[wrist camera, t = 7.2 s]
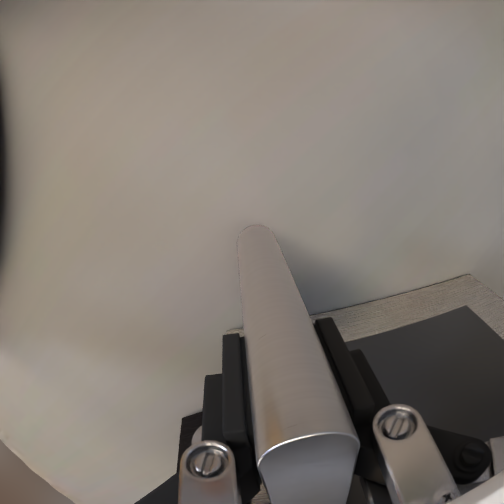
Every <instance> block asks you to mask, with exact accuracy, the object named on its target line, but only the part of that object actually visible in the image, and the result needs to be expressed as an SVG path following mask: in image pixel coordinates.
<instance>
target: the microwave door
mask: <svg viewBox="0 0 504 504" xmlns="http://www.w3.org/2000/svg"><path fill="white" fill-rule="evenodd" d="M237 251H238V263H239V276H240V289H241V301H242V313H243V325H244V328H241V329H235V330H228V331H227V332H226V335H227V334H234V333H239V334H240V337H243V336H245V348H246V359H247V370H248V381H249V392H250V403H251V413H252V423H253V434H254V444H255V453H256V463H257V469H258V471H259V474H260V476H261V479H262V485H260V489H261V491H260V492H259V493H258V494H257V495H256V496H255V497H254V498H253V499H252V500H253V504H367V503H366V500H365V496H364V493H363V490H362V486H361V483H360V480H359V476H358V475H355V474H354V470H355V466H356V461H357V457H358V452H359V449H360V441H359V438H358V435H357V433H356V430H355V428H354V425H353V422H352V420H351V417H350V415H349V412H348V410H347V407H346V405H345V402H344V399H343V397H342V394H341V392H340V389H339V387H338V384H337V382H336V379H335V377H334V374H333V372H332V370H331V367H330V365H329V362H328V360H327V357H326V355H325V352H324V350H323V348H322V345H321V343H320V340H319V338H318V335H317V333H316V331H315V328H314V326H313V324H315V320H317V319H322V318H327V317H332V319H333V320H334V322H335V324H336V326H337V328H338V330H339V332H340V334H341V336H342V338H343V340H344V342H345V344H346V346H347V348H348V350H349V351H352V350H356V349H360V350H361V351H362V352H363V354H364V355H365V357H366V359H367V361H368V363H369V365H370V366H371V368H372V370H373V372H374V374H375V376H376V378H377V379H378V381H379V383H380V385H381V387H382V389H383V391H384V393H385V394H386V396H387V398H388V400H389V402H390V404H391V405H393V404H405V405H408V406H411V407H412V408H414V409H415V410H417V411H418V413H419V414H420V415H421V417H422V419H423V420H424V422H425V424H426V425H428V426H431V427H435V428H438V429H442V430H446V431H450V432H454V433H458V434H462V435H466V436H470V437H474V438H478V439H480V440H482V441H484V442H488V441H489V439H491V438H497V437H502V436H504V300H503V299H502V298H500V297H499V296H498V295H496V294H495V293H494V292H493V291H491V290H490V289H489V288H487V287H486V286H485V285H483V284H482V283H481V282H479V281H478V280H477V279H475V278H474V277H473V276H471V275H470V274H469V275H465V276H462V277H459V278H456V279H452V280H449V281H446V282H443V283H439V284H436V285H432V286H429V287H425V288H422V289H418V290H415V291H411V292H407V293H404V294H400V295H396V296H392V297H388V298H384V299H380V300H376V301H372V302H368V303H364V304H360V305H356V306H352V307H347V308H343V309H338V310H334V311H329V312H325V313H320V314H315V315H311V316H309V314H308V312H307V309H306V307H305V304H304V302H303V300H302V297H301V295H300V293H299V290H298V288H297V286H296V283H295V281H294V279H293V276H292V274H291V272H290V270H289V267H288V265H287V263H286V260H285V258H284V256H283V253H282V251H281V249H280V247H279V244H278V242H277V240H276V238H275V235H274V234H273V232H272V231H271V230H270V229H269V228H267V227H265V226H262V225H252V226H249V227H247V228H245V229H244V230H243V231H242V232H241V233H240V235H239V237H238V240H237Z"/></svg>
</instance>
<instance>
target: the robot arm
mask: <svg viewBox="0 0 504 504" xmlns="http://www.w3.org/2000/svg"><path fill="white" fill-rule="evenodd" d="M313 326H314V328H315V331H316V333H317V335H318V338H319V340H320V343H321V345H322V348H323V350H324V352H325V355H326V357H327V360H328V362H329V365H330V367H331V370H332V372H333V374H334V377H335V379H336V382H337V384H338V387H339V389H340V392H341V394H342V397H343V399H344V402H345V405H346V407H347V410H348V412H349V415H350V417H351V420H352V422H353V425H354V428H355V430H356V433H357V435H358V438H359V441H360V449H359V452H358V457H357V461H356V466H355V470H354V474H355V475H358V476H359V480H360V483H361V486H362V490H363V493H364V496H365V500H366V503H367V504H504V436H502V437H497V438H491V439H489V441H488V442H484V441H482V440H480V439H478V438H474V437H470V436H466V435H462V434H458V433H454V432H450V431H446V430H442V429H438V428H435V427H431V426H428V425H426V424H425V422H424V420H423V419H422V417H421V415H420V414H419V413H418V411H417V410H415V409H414V408H412V407H411V406H408V405H405V404H393V405H391V404H390V402H389V400H388V398H387V396H386V394H385V393H384V391H383V389H382V387H381V385H380V383H379V381H378V379H377V378H376V376H375V374H374V372H373V370H372V368H371V366H370V365H369V363H368V361H367V359H366V357H365V355H364V354H363V352H362V351H361V350H360V349H356V350H352V351H349V350H348V348H347V346H346V344H345V342H344V340H343V338H342V336H341V334H340V332H339V330H338V328H337V326H336V324H335V322H334V320H333V319H332V317H327V318H322V319H317V320H315V324H313ZM260 485H262V479H261V476H260V474H259V471H258V469H257V463H256V453H255V444H254V434H253V423H252V413H251V403H250V392H249V381H248V370H247V359H246V348H245V336H243V337H240V334H239V333H234V334H227V335H223V352H222V374H215V375H206V377H205V384H204V400H203V417H202V437H201V441H200V442H197V443H195V444H193V445H191V446H190V447H189V448H188V449H186V450H185V452H184V453H183V455H182V457H181V461H180V471H179V472H177V473H176V474H175V475H173V476H172V477H171V478H169V479H168V480H167V481H165V482H164V483H163V484H161V485H160V486H159V487H157V488H156V489H154V490H153V491H152V492H150V493H149V494H147V495H146V496H145V497H143V498H142V499H140V500H139V501H137V502H136V503H134V504H253V500H252V499H253V498H254V497H255V496H256V495H257V494H258V493H259V492H260V491H261V489H260Z"/></svg>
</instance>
